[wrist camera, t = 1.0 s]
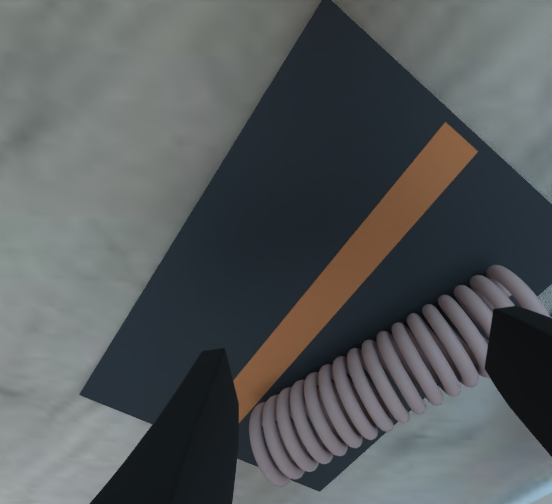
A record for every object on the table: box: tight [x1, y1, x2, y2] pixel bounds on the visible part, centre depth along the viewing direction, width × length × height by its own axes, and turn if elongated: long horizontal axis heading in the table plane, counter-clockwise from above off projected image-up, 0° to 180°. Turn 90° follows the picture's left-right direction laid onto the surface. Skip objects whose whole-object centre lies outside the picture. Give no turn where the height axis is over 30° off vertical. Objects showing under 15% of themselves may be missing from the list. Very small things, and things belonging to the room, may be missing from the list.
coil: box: [249, 265, 551, 487], centre depth 19 cm, size 5×5×18 cm
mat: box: [80, 0, 552, 491], centre depth 20 cm, size 20×26×1 cm
